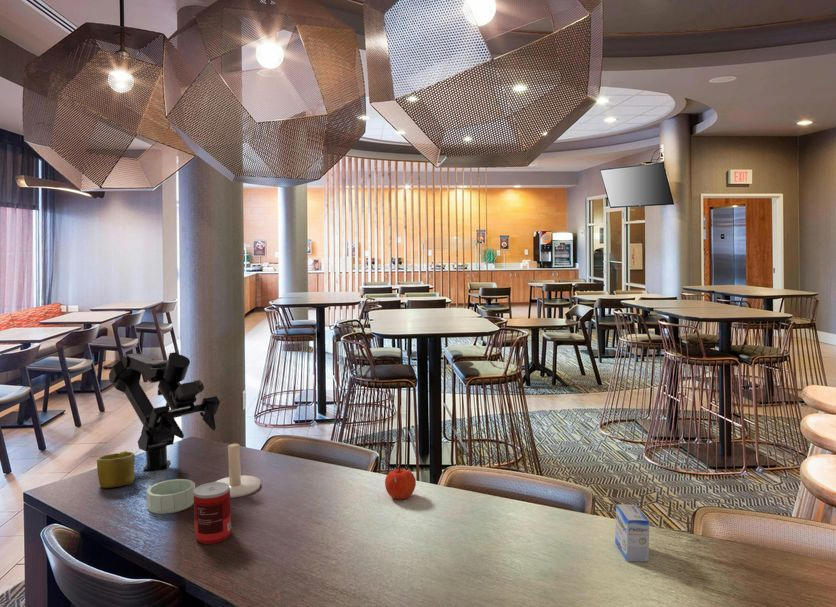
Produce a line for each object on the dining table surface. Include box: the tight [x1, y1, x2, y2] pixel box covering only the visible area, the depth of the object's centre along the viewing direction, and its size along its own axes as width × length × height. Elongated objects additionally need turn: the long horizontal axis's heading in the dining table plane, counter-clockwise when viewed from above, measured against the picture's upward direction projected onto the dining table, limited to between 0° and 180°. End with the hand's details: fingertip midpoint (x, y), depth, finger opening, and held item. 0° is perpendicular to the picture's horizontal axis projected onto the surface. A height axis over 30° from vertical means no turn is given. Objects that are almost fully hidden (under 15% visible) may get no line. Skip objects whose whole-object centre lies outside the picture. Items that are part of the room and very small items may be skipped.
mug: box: [96, 450, 136, 489], centre depth 163 cm, size 12×10×10 cm
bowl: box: [145, 478, 196, 515], centre depth 147 cm, size 11×11×4 cm
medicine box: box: [614, 504, 650, 563], centre depth 120 cm, size 8×4×9 cm, turn 178°
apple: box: [384, 466, 417, 500], centre depth 150 cm, size 8×8×8 cm
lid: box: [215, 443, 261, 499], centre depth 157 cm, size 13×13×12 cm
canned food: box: [193, 481, 232, 545], centre depth 130 cm, size 8×8×11 cm
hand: (199, 433), depth 157 cm, fingers open, 9 cm apart
